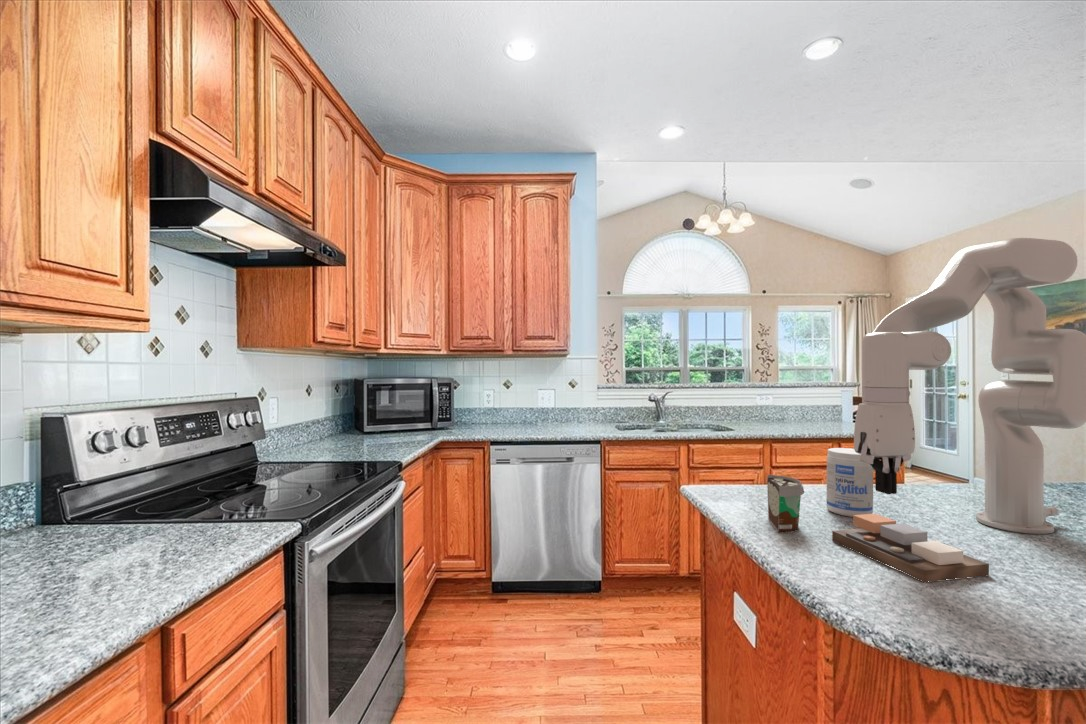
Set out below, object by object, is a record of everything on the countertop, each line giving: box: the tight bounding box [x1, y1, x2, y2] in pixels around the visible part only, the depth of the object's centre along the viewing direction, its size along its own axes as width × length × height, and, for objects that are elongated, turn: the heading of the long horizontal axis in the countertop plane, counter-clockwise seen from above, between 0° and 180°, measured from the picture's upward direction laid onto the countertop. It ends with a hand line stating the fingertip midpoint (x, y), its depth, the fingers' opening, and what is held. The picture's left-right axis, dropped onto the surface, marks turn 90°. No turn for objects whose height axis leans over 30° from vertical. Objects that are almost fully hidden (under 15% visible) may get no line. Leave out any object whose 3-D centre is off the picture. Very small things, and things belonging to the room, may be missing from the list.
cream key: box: [912, 540, 964, 565], centre depth 88 cm, size 5×5×2 cm
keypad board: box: [831, 528, 990, 583], centre depth 95 cm, size 13×20×3 cm, turn 11°
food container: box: [766, 474, 805, 534], centre depth 113 cm, size 12×6×10 cm, turn 168°
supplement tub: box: [825, 447, 874, 518], centre depth 123 cm, size 10×10×15 cm
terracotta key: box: [852, 513, 897, 533], centre depth 101 cm, size 5×5×2 cm
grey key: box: [880, 522, 928, 545], centre depth 95 cm, size 5×5×2 cm
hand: (885, 492), depth 99 cm, fingers closed
